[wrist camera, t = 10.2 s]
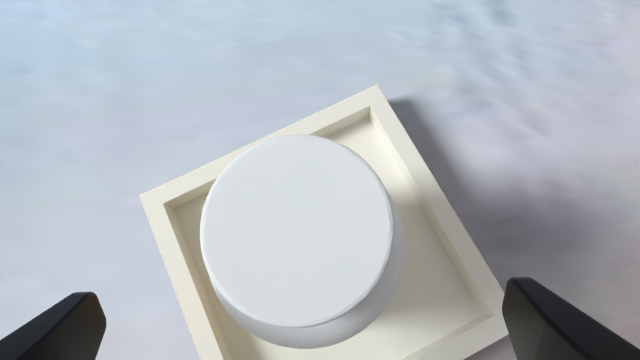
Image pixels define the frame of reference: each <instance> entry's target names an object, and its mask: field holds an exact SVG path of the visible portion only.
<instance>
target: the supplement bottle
mask: <svg viewBox="0 0 640 360" xmlns="http://www.w3.org/2000/svg"><path fill="white" fill-rule="evenodd" d="M200 244H201V251H202V256H203V260H204V263H205V266H206V269H207V271H208V273H209V276H210V280H211V283H212V286H213V288H214V290H215V293H216V295H217V297H218V299H219V300H220V302H221V303H222V305H223V306H224V308H225V309H226V311H227V312H228V313H229V314H230V315H231V317H232V318H233V319H234V320H235V321H236V322H237V323H238V324H239V325H241V326H242V327H243V328H244V329H245V330H247V331H248V332H250V333H252V334H253V335H255V336H256V337H258V338H260V339H262V340H264V341H267V342H269V343H272V344H275V345H278V346H283V347H289V348H297V349H316V348H323V347H328V346H331V345H335V344H338V343H340V342H343V341H345V340H347V339H349V338H352V337H353V336H355V335H356V334H358V333H360V332H361V331H363V330H364V329H365V328H367V327H368V326H369V325H370V324H371V323H372V322H373V321H374V320H375V319H376V318H377V317H378V316H379V315H380V314H381V313H382V311H383V310H384V309H385V307H386V306H387V305H388V303H389V301H390V300H391V298H392V296H393V294H394V293H395V290H396V288H397V286H398V283H399V280H400V277H401V274H402V269H403V264H404V256H405V240H404V232H403V226H402V222H401V218H400V215H399V212H398V210H397V208H396V205H395V203H394V201H393V200H392V198H391V196H390V194H389V193H388V191H387V190H386V188H385V187H384V185H383V183H382V181H381V180H380V178H379V176H378V175H377V174H376V173H375V171H374V170H373V169H372V167H371V166H370V165H369V164H368V163H367V162H366V161H365V160H364V159H363V158H362V157H361V156H359V155H358V154H357V153H355V152H354V151H352V150H351V149H349V148H348V147H346V146H344V145H343V144H340V143H338V142H335V141H333V140H331V139H327V138H324V137H320V136H315V135H306V134H294V135H284V136H279V137H275V138H271V139H268V140H265V141H262V142H260V143H258V144H256V145H254V146H252V147H250V148H248V149H247V150H245V151H244V152H242V153H241V154H239V155H238V156H237V157H236V158H235V159H234V160H232V161H231V162H230V163H229V164H228V165H227V166H226V167H225V168H224V170H223V171H222V172H221V174H220V175H219V176H218V177H217V179H216V180H215V182H214V184H213V185H212V187H211V189H210V191H209V194H208V196H207V198H206V201H205V204H204V207H203V211H202V216H201V223H200Z"/></svg>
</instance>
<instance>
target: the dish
mask: <svg viewBox="0 0 640 360" xmlns="http://www.w3.org/2000/svg"><path fill="white" fill-rule="evenodd" d="M294 134H306V135H315V136H320V137H324V138H327V139H331V140H333V141H335V142H338V143H340V144H343V145H344V146H346V147H348V148H349V149H351V150H352V151H354V152H355V153H357V154H358V155H359V156H361V157H362V158H363V159H364V160H365V161H366V162H367V163H368V164H369V165H370V166H371V167H372V169H373V170H374V171H375V173H376V174H377V175H378V176H379V178H380V180H381V181H382V183H383V185H384V187H385V188H386V190H387V191H388V193H389V194H390V196H391V198H392V200H393V201H394V203H395V205H396V208H397V210H398V212H399V215H400V218H401V222H402V226H403V232H404V240H405V256H404V264H403V269H402V274H401V277H400V280H399V283H398V286H397V288H396V290H395V293H394V294H393V296H392V298H391V300H390V301H389V303H388V305H387V306H386V307H385V309H384V310H383V311H382V313H381V314H380V315H379V316H378V317H377V318H376V319H375V320H374V321H373V322H372V323H371V324H370V325H369V326H368V327H367V328H365V329H364V330H363V331H361V332H360V333H358V334H356V335H355V336H353V337H352V338H349V339H347V340H345V341H343V342H340V343H338V344H335V345H331V346H328V347H323V348H316V349H297V348H289V347H283V346H278V345H275V344H272V343H269V342H267V341H264V340H262V339H260V338H258V337H256V336H255V335H253V334H252V333H250V332H248V331H247V330H245V329H244V328H243V327H242V326H241V325H239V324H238V323H237V322H236V321H235V320H234V319H233V318H232V317H231V315H230V314H229V313H228V312H227V311H226V309H225V308H224V306H223V305H222V303H221V302H220V300H219V299H218V297H217V295H216V293H215V290H214V288H213V286H212V283H211V280H210V276H209V273H208V271H207V269H206V266H205V263H204V260H203V256H202V251H201V244H200V223H201V216H202V211H203V207H204V204H205V201H206V198H207V196H208V194H209V191H210V189H211V187H212V185H213V184H214V182H215V180H216V179H217V177H218V176H219V175H220V174H221V172H222V171H223V170H224V168H225V167H226V166H227V165H228V164H229V163H230V162H231V161H232V160H234V159H235V158H236V157H237V156H238V155H239V154H241V153H242V152H244V151H245V150H247V149H248V148H250V147H252V146H254V145H256V144H258V143H260V142H262V141H265V140H268V139H271V138H275V137H279V136H284V135H294ZM139 197H140V199H141V202H142V205H143V207H144V210H145V213H146V215H147V218H148V221H149V223H150V226H151V229H152V231H153V234H154V237H155V239H156V242H157V245H158V247H159V250H160V253H161V255H162V258H163V261H164V264H165V266H166V269H167V272H168V274H169V277H170V280H171V282H172V285H173V288H174V290H175V293H176V296H177V298H178V301H179V304H180V306H181V309H182V312H183V314H184V317H185V320H186V322H187V325H188V328H189V330H190V333H191V336H192V338H193V341H194V344H195V346H196V349H197V352H198V355H199V357H200V360H464V359H465V358H467V357H469V356H471V355H473V354H474V353H476V352H478V351H480V350H482V349H483V348H485V347H487V346H489V345H491V344H492V343H494V342H496V341H498V340H500V339H501V338H503V337H505V336H507V335H509V333H508V330H507V327H506V324H505V321H504V318H503V314H502V303H503V299H504V294H505V293H504V291H503V289H502V288H501V286H500V285H499V283H498V281H497V280H496V278H495V276H494V275H493V273H492V271H491V270H490V268H489V267H488V265H487V263H486V262H485V260H484V258H483V257H482V255H481V253H480V252H479V250H478V249H477V247H476V245H475V244H474V242H473V240H472V239H471V237H470V235H469V234H468V232H467V231H466V229H465V227H464V226H463V224H462V222H461V221H460V219H459V217H458V216H457V214H456V213H455V211H454V209H453V208H452V206H451V204H450V203H449V201H448V199H447V198H446V196H445V195H444V193H443V191H442V190H441V188H440V186H439V185H438V183H437V181H436V180H435V178H434V177H433V175H432V173H431V172H430V170H429V168H428V167H427V165H426V163H425V162H424V160H423V159H422V157H421V155H420V154H419V152H418V150H417V149H416V147H415V145H414V144H413V142H412V141H411V139H410V137H409V136H408V134H407V132H406V131H405V129H404V127H403V126H402V124H401V123H400V121H399V119H398V118H397V116H396V114H395V113H394V111H393V109H392V108H391V106H390V105H389V103H388V101H387V100H386V98H385V96H384V95H383V93H382V91H381V90H380V88H379V87H378V85H377V84H376V85H374V86H372V87H370V88H368V89H366V90H364V91H361V92H359V93H357V94H355V95H353V96H351V97H349V98H346V99H344V100H342V101H340V102H338V103H336V104H334V105H331V106H329V107H327V108H325V109H323V110H321V111H319V112H317V113H314V114H312V115H310V116H308V117H306V118H304V119H302V120H299V121H297V122H295V123H293V124H291V125H289V126H287V127H284V128H282V129H280V130H278V131H276V132H274V133H272V134H270V135H267V136H265V137H263V138H261V139H259V140H257V141H255V142H252V143H250V144H248V145H246V146H244V147H242V148H240V149H237V150H235V151H233V152H231V153H229V154H227V155H225V156H223V157H220V158H218V159H216V160H214V161H212V162H210V163H208V164H205V165H203V166H201V167H199V168H197V169H195V170H193V171H191V172H188V173H186V174H184V175H182V176H180V177H178V178H176V179H173V180H171V181H169V182H167V183H165V184H163V185H161V186H158V187H156V188H154V189H152V190H150V191H148V192H146V193H144V194H141V195H139Z"/></svg>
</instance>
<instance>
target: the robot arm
mask: <svg viewBox="0 0 640 360" xmlns="http://www.w3.org/2000/svg"><path fill="white" fill-rule="evenodd" d="M502 314H503V318H504V321H505V324H506V327H507V330H508V333H509V336H510V339H511V342H512V345H513V348H514V351H515V354H516V357H517V360H640V349H638V348H637V347H635V346H634V345H632V344H631V343H629V342H628V341H626V340H625V339H623V338H622V337H620V336H619V335H617V334H616V333H614V332H612V331H611V330H609V329H608V328H606V327H605V326H603V325H602V324H600V323H599V322H597V321H596V320H594V319H593V318H591V317H590V316H588V315H587V314H585V313H584V312H582V311H581V310H579V309H578V308H576V307H575V306H573V305H572V304H570V303H569V302H567V301H565V300H564V299H562V298H561V297H559V296H558V295H556V294H555V293H553V292H552V291H550V290H549V289H547V288H546V287H544V286H543V285H541V284H540V283H538V282H537V281H535V280H534V279H532V278H530V277H512V278H510V279H509V280H508V282H507V286H506V290H505V294H504V299H503V303H502ZM105 329H106V317H105V315H104V312H103V310H102V307H101V305H100V302H99V300H98V297H97V295H96V294H95V293H93V292H76V293H72V294H71V295H69V296H67V297H66V298H64V299H63V300H61V301H60V302H58V303H57V304H55V305H54V306H52V307H51V308H49V309H48V310H46V311H45V312H43V313H41V314H40V315H38V316H37V317H35V318H34V319H32V320H31V321H29V322H28V323H26V324H25V325H23V326H22V327H20V328H18V329H17V330H15V331H14V332H12V333H11V334H9V335H8V336H6V337H5V338H3V339H2V340H0V360H95V358H96V356H97V353H98V350H99V347H100V344H101V341H102V338H103V335H104V332H105Z"/></svg>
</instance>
